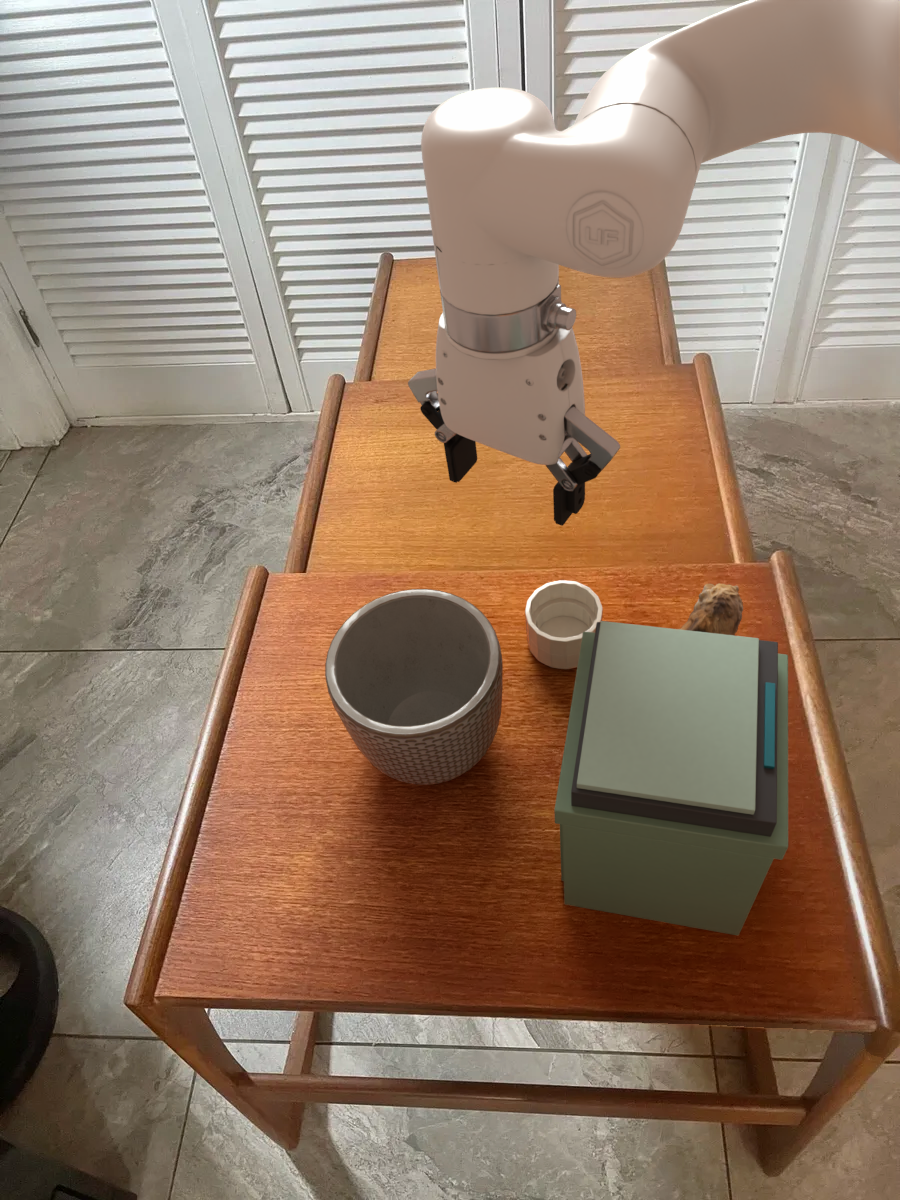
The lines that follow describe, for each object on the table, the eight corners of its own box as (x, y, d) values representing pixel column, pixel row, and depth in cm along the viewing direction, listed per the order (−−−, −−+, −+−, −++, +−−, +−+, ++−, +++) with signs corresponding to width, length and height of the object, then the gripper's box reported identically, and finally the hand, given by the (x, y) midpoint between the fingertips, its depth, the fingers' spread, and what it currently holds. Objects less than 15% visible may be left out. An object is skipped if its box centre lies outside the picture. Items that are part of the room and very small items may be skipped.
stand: (750, 768, 75) (788, 654, 62) (745, 937, 67) (788, 847, 54) (581, 744, 78) (583, 630, 65) (557, 903, 70) (554, 810, 57)
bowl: (604, 616, 86) (606, 584, 82) (596, 676, 82) (597, 645, 78) (534, 608, 88) (532, 576, 84) (522, 667, 84) (519, 636, 80)
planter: (338, 701, 84) (306, 618, 73) (480, 653, 85) (467, 566, 75) (378, 834, 75) (347, 762, 65) (534, 779, 77) (528, 700, 66)
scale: (772, 658, 62) (779, 636, 60) (771, 837, 54) (778, 819, 52) (596, 638, 64) (596, 616, 62) (571, 806, 57) (571, 787, 55)
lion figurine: (707, 622, 84) (720, 560, 77) (747, 661, 81) (763, 600, 74) (578, 698, 81) (579, 641, 74) (615, 742, 78) (619, 687, 71)
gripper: (649, 307, 56) (635, 498, 70) (424, 245, 64) (451, 429, 77) (591, 377, 53) (588, 564, 66) (360, 303, 60) (399, 485, 74)
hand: (514, 491), depth 72 cm, fingers open, 9 cm apart
